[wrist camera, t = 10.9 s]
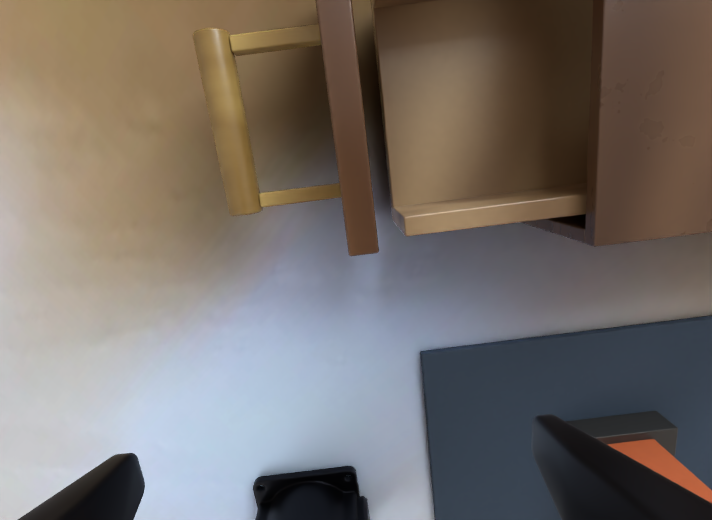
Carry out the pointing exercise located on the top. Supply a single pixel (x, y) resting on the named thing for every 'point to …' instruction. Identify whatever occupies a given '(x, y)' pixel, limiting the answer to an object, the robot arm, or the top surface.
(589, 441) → the robot arm
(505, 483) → the mat
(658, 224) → the cabinet
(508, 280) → the top surface
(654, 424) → the stamp
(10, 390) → the top surface
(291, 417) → the top surface
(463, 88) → the drawer
